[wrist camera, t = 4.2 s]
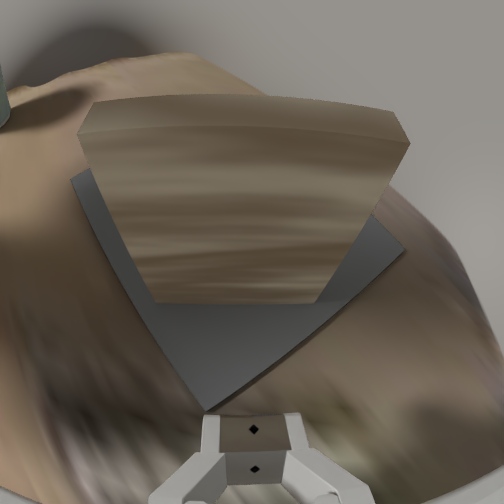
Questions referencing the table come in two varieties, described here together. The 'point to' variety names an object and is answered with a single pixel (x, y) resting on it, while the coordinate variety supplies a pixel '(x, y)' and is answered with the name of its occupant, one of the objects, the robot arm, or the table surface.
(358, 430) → the table surface
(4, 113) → the disposable coffee cup
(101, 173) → the ash tile
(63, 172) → the table surface
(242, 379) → the charcoal mat
